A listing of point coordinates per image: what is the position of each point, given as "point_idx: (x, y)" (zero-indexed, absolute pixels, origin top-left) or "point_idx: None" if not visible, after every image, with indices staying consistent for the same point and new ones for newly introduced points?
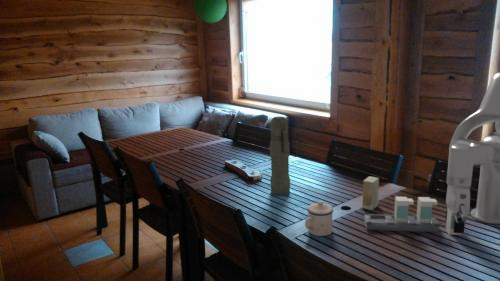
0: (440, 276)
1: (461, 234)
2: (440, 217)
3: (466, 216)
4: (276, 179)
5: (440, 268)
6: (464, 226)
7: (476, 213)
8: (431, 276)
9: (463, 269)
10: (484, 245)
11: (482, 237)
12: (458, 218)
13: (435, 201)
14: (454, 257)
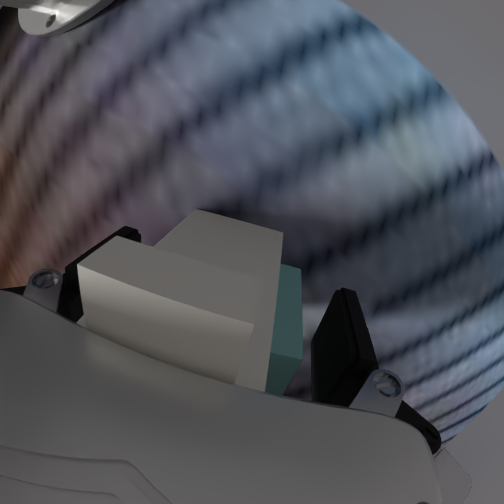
0: (466, 425)
1: (282, 233)
2: (51, 220)
3: (468, 485)
4: None
5: (450, 422)
6: (367, 329)
7: (52, 9)
8: (453, 437)
9: (493, 378)
10: (451, 180)
11: (354, 101)
12: (283, 388)
13: None
14: (446, 380)
